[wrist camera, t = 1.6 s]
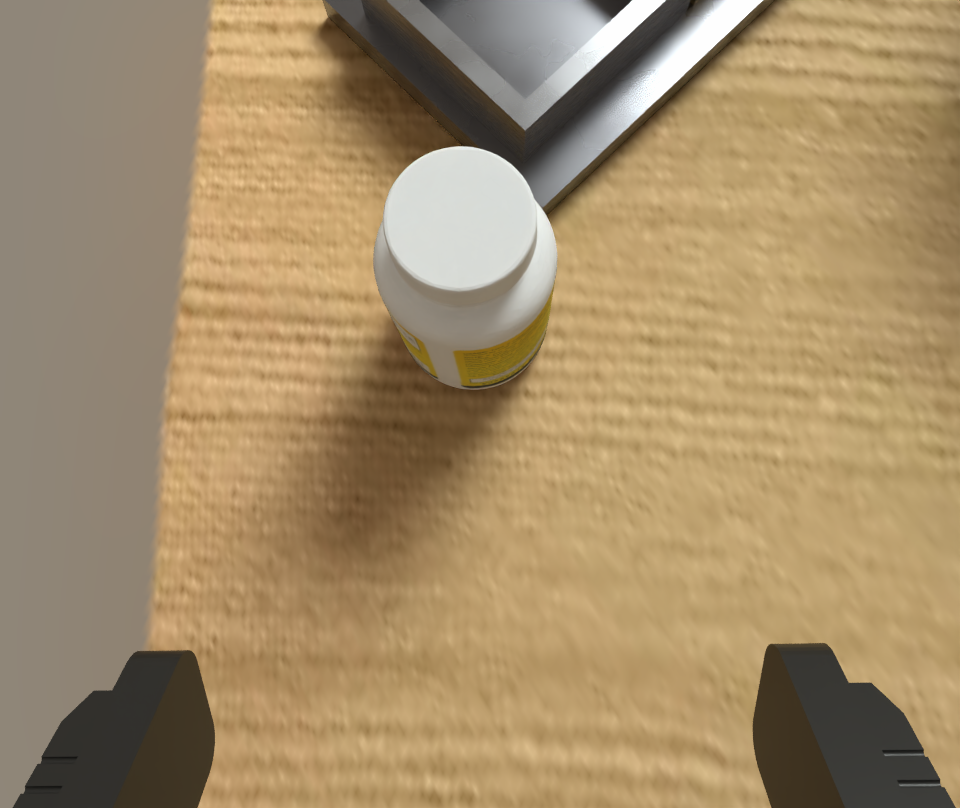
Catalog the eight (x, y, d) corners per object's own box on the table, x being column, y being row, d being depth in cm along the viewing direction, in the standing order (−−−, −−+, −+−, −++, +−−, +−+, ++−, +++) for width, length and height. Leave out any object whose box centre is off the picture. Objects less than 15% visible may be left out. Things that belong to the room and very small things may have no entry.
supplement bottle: (567, 278, 31) (596, 159, 21) (517, 412, 30) (523, 353, 20) (432, 230, 31) (400, 93, 22) (379, 362, 30) (321, 280, 21)
